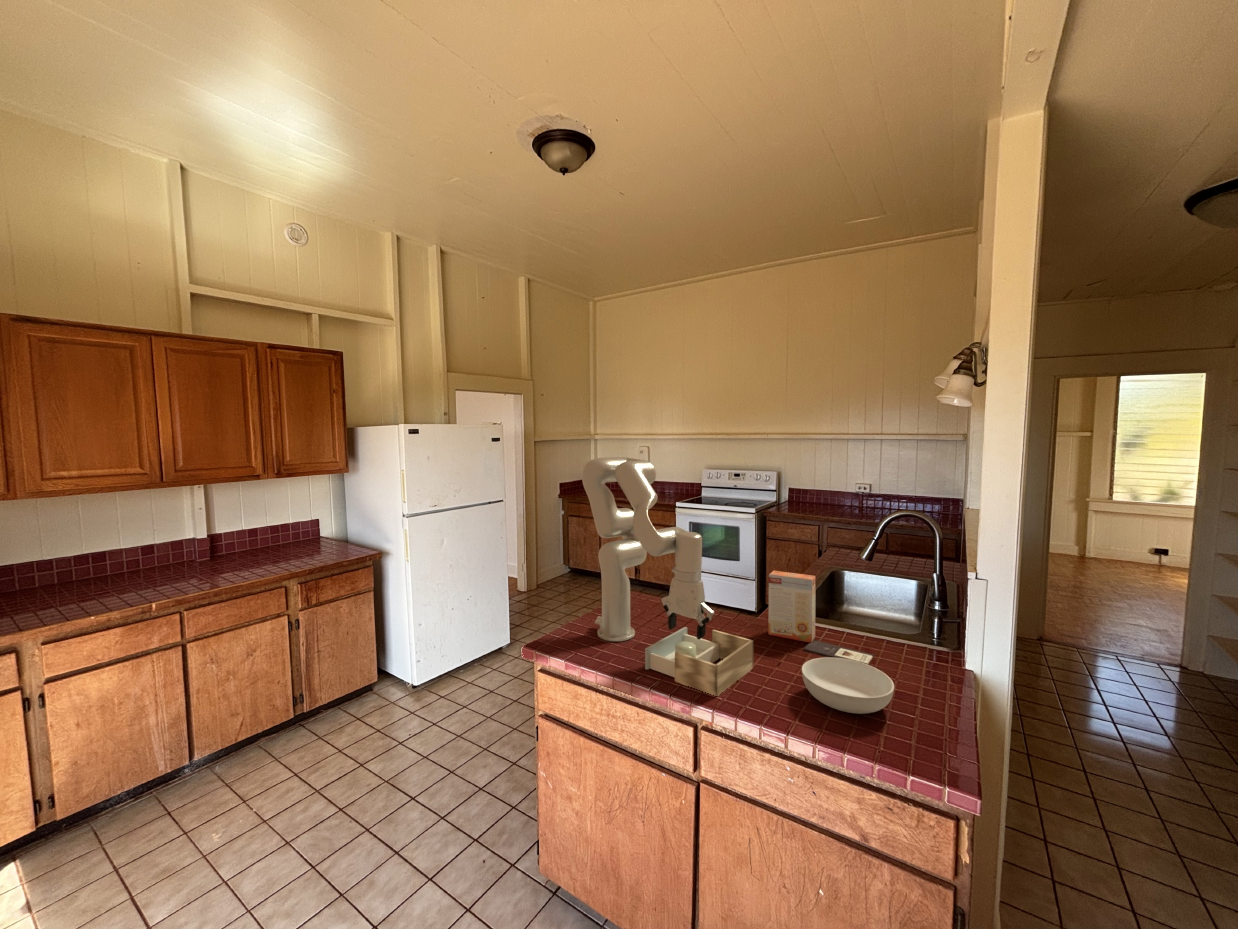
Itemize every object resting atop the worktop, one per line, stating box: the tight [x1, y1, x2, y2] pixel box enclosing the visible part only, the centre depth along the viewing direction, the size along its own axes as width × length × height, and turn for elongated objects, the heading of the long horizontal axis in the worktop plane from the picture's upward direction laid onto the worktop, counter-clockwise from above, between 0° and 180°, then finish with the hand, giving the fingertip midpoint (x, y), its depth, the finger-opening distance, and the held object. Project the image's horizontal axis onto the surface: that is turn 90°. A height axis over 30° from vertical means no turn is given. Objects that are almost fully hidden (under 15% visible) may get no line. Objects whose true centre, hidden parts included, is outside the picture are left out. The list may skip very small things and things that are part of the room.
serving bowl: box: [801, 656, 895, 715], centre depth 123 cm, size 21×21×7 cm
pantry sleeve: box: [674, 629, 754, 697], centre depth 138 cm, size 13×21×8 cm, turn 140°
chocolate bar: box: [802, 639, 875, 665], centre depth 151 cm, size 9×1×18 cm
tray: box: [644, 626, 720, 678], centre depth 144 cm, size 13×21×6 cm, turn 140°
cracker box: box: [767, 570, 816, 644], centre depth 164 cm, size 14×6×21 cm, turn 58°
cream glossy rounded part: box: [675, 641, 696, 657], centre depth 144 cm, size 6×6×4 cm
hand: (686, 632), depth 144 cm, fingers open, 9 cm apart
